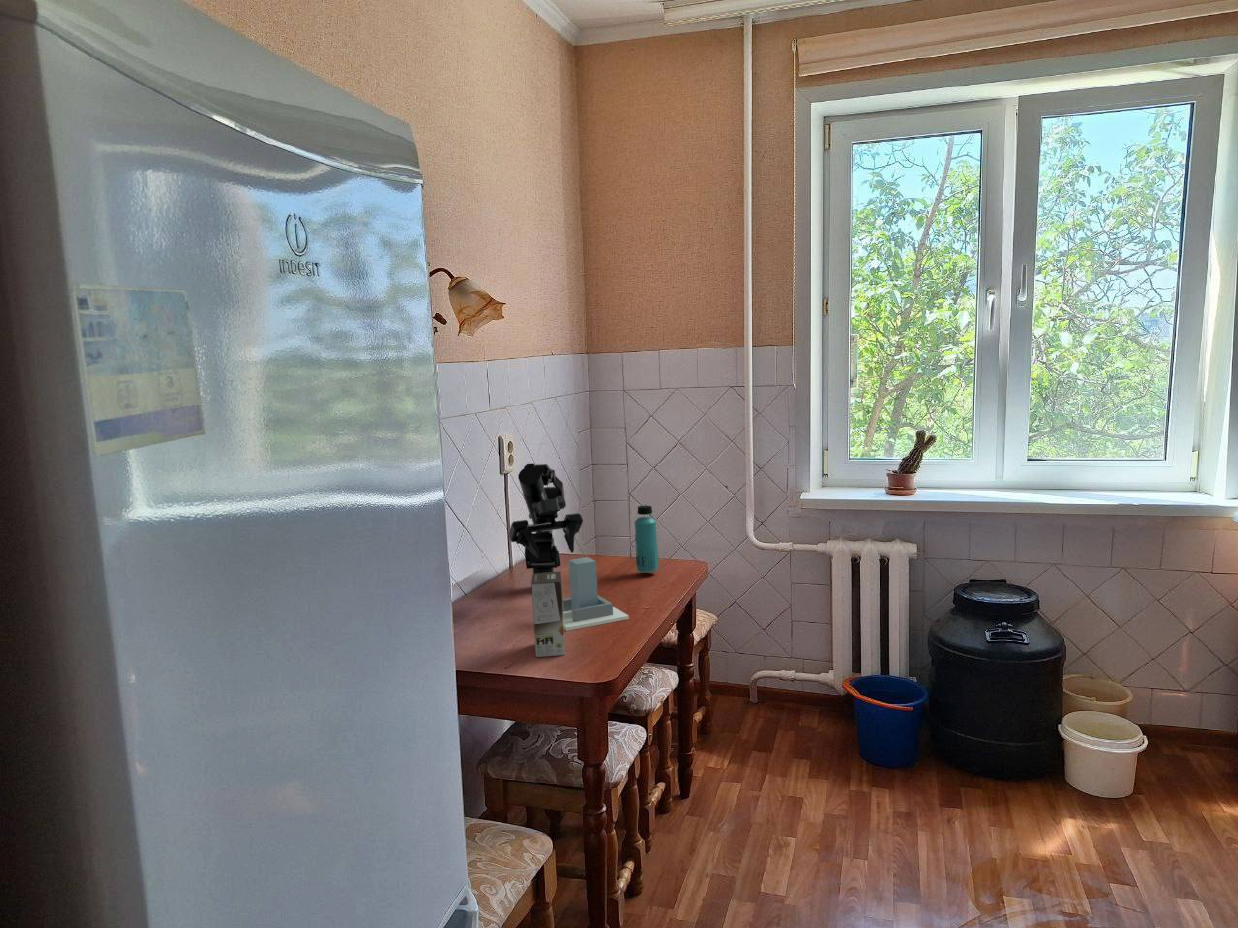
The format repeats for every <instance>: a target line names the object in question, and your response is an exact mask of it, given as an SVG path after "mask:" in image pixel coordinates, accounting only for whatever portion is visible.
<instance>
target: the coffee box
mask: <svg viewBox="0 0 1238 928" xmlns="http://www.w3.org/2000/svg"><path fill="white" fill-rule="evenodd" d="M530 586H531V597H532V598H531V599H532V613H533V614H532V615H533V616H532V617H533V630H534V632H533V633H534V648H535V651H534V652H535V657H536V658H540V657H541V658H542V657H544V658H545V657H554V656H555V657H558V656H564V655H565V630H564V617H563V600H562V599H563V588H562V586H563V585H562V575H561V571H554V572H545V573H535V574H533V573H532V575H531V581H530Z"/></svg>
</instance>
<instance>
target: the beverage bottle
mask: <svg viewBox="0 0 1238 928" xmlns="http://www.w3.org/2000/svg"><path fill="white" fill-rule="evenodd" d="M651 514H653V509H652V506H651V505H640V506H638V507H637V515H642V516H639V517H638V518H636V520H634V530H635V532H634V540H635V560H636V562H635V563H636V570H637V572H641V573H652V572H653V573H654V572H656V571H658V570H659V566H660V564H659V548H658V538H657V537H658V535H657V533H658V532H657V520H656V519H655V518H653V516H645V515H651Z"/></svg>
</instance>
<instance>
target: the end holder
mask: <svg viewBox="0 0 1238 928" xmlns="http://www.w3.org/2000/svg"><path fill="white" fill-rule="evenodd" d="M562 600H563V617H564V631H566V632H568V631H573V630H578V629H584V628H590V627H595V626H599V625H600V626H601V625H604V624H610V623H616V622H621V621H626V620H629V619H630V616H629V614H627V613H625V612H623V611H622V610H620V609H619V608H617V607H615V606H613V605H614V604H613V603H612V602H610V601H609V600H607V599H605V598H604V597H602V596H600V595H598V605H594V606H589V607H584V608H578V609H573V610H571V597H568V598H562Z"/></svg>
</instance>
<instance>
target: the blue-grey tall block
mask: <svg viewBox="0 0 1238 928" xmlns="http://www.w3.org/2000/svg"><path fill="white" fill-rule="evenodd" d="M568 571H569V587H570V588H569V589H570V598H571V610H573V609H578V608H584V607H589V606H594V605H598V578H597V577H598V575H597V561H596V560H594V559H592V558H590V557H588V556H587V557H585V556H584V557H580V558H574V559H568Z"/></svg>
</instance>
